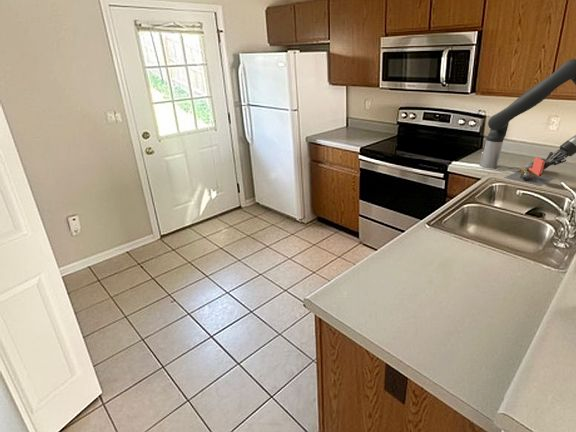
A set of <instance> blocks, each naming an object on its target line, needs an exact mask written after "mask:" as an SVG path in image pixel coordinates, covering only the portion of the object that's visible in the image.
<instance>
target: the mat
mask: <svg viewBox="0 0 576 432" xmlns="http://www.w3.org/2000/svg"><path fill="white" fill-rule="evenodd" d="M520 174H521V171H520V170H518V171H516V172H514V173H512V174H510V175H507V176H505V177H503V179H508V180H512V181H516V182H521V183H523V184H524V183H525V184H529V185H534V186H538V187H542V186H544V185H546V184H547V183H549V182H551V181H553V180H554V179H555V177H550V176H545V175H541V176H538V175H536V174H534V178H533V180H530V181H524V180H523V178H520Z"/></svg>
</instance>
